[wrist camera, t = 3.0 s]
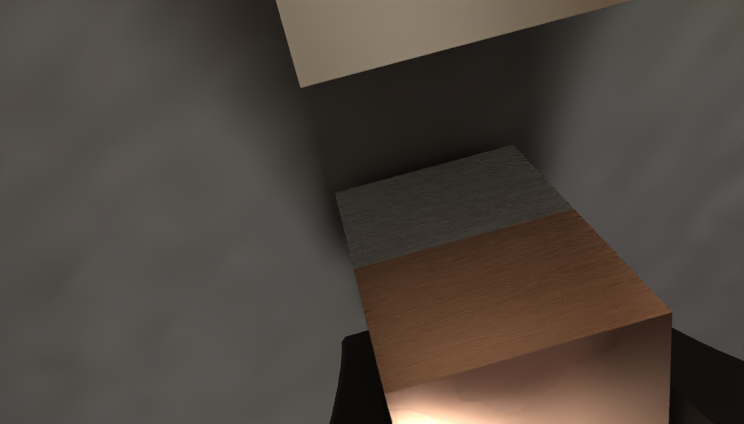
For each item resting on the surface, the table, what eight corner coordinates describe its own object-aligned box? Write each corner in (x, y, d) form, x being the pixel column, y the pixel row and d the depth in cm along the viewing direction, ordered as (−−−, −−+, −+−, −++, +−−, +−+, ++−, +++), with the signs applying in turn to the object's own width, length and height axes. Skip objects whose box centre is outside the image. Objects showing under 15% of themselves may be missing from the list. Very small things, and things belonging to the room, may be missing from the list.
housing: (334, 192, 13) (384, 393, 8) (513, 144, 14) (672, 312, 8) (396, 416, 17) (459, 656, 12) (538, 375, 17) (663, 596, 12)
